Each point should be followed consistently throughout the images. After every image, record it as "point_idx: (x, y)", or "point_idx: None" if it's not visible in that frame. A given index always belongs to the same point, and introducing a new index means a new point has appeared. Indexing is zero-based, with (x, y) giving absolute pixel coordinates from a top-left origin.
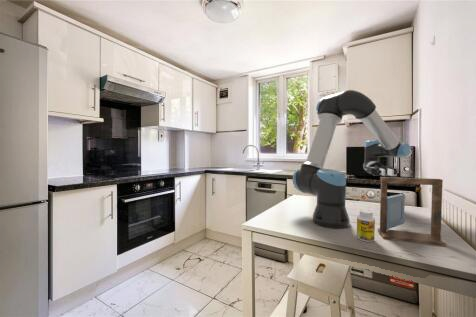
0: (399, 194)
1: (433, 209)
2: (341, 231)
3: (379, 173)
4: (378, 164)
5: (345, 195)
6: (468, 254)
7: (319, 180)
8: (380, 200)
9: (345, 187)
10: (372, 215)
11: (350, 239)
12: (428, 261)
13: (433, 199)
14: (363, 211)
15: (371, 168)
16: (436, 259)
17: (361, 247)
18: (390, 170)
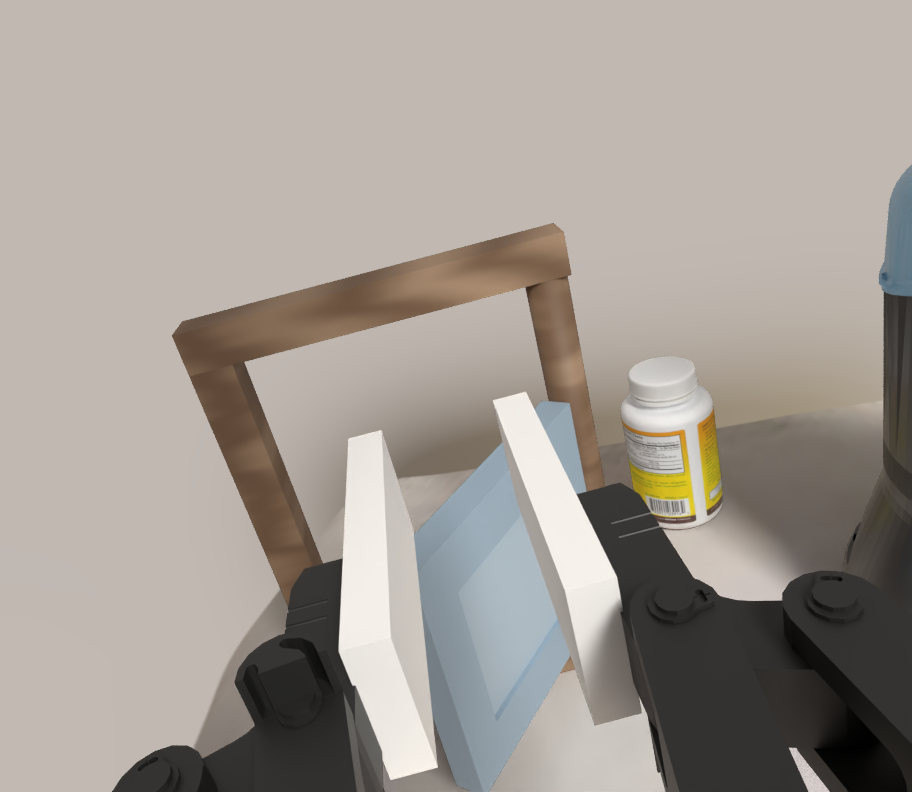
0: (429, 550)
1: (296, 506)
2: (832, 523)
3: (634, 686)
4: None
5: (906, 417)
6: (280, 599)
7: None
8: (589, 401)
9: (891, 323)
10: (629, 387)
11: (739, 474)
12: (455, 479)
13: (274, 449)
14: (673, 365)
15: (898, 609)
16: (424, 502)
17: None
18: (390, 492)
